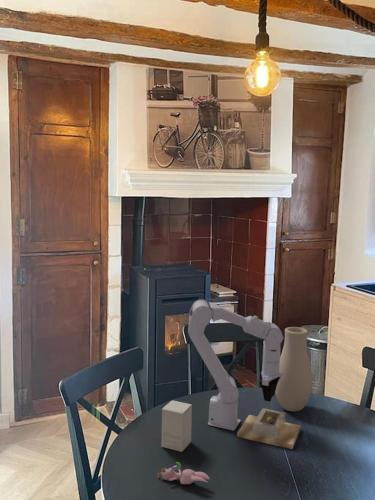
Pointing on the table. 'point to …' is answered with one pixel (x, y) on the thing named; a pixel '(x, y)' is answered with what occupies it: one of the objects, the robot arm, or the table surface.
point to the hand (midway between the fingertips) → (269, 398)
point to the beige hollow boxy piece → (267, 429)
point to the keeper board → (284, 440)
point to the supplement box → (176, 425)
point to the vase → (294, 371)
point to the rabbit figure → (183, 475)
